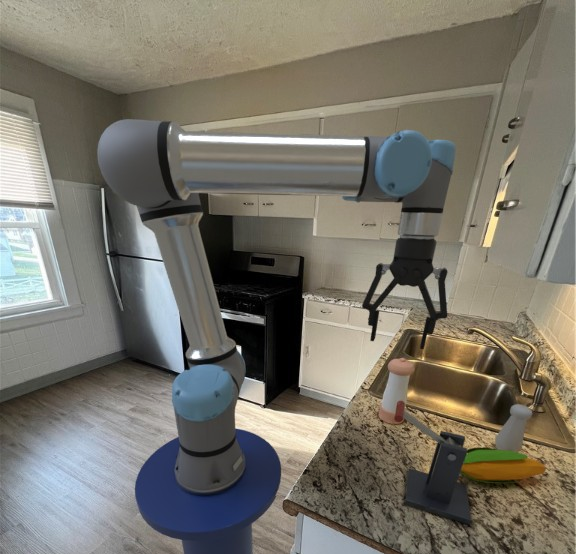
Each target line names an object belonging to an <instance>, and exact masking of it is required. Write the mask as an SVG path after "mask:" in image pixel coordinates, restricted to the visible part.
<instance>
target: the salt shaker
mask: <svg viewBox="0 0 576 554" xmlns="http://www.w3.org/2000/svg"><path fill="white" fill-rule="evenodd" d="M509 413H510V417H509V418H508V419H507V420H506V422H505V423H504V424H503V426H502V427H501V428H500V430H499V432H498V433H497V434H496V435H495V436H494V437H495V438H494V445H495V449H496V450H505V451H513V452H517V453H519V451H520V450H522V448H523V443H524V437H525V431H526V425H527V420H530V419H531V417H532V416H533V411H532V409H531V408H530V407H528V406H526V405H523V404H520V403H519V404H518V403H517V404H513V405H511V407H510V409H509Z"/></svg>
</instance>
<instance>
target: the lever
mask: <svg viewBox="0 0 576 554" xmlns="http://www.w3.org/2000/svg"><path fill="white" fill-rule="evenodd" d="M404 408H405V409H406V406H405V403H404V401H398V402H397V406H396V412H395V417H394V419H395V421H396V422H402V421H403V418H404V420H406V421H407V422H408V423H410V424H411V425H413V426H414V427H415V428H417V429H418V430H419V431H421V432H422V433H423V434H425V435H427V436H428V438H429V437H430V438H431V439H432V440H434V441H435V443H437V442H438V443H439V444H440V445H441V442H442V443H446V444H450V445H454V446H458V447H461V445H460V444H458V443H457V442H456V441H454V440H453V439H451V438H450V437H449V438H447V439H446V440H445V439H444V438H442V437H441V436H440V434H438V433H437V432H436V431H434V430H433V429H431V428H430V427H428V426H427V425H426V424H424V423H423V422H421V421H420V420H419V419H417V418H416V417H414V416H413V415H412V414H411V413H409V412H407V411H405V410H404ZM403 422H404V421H403ZM403 422H402V423H403Z"/></svg>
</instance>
